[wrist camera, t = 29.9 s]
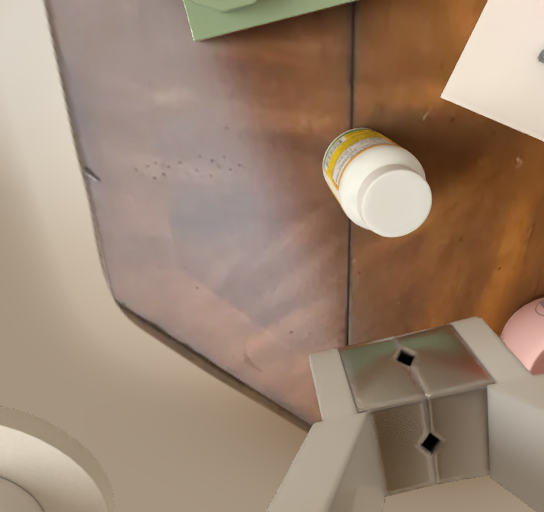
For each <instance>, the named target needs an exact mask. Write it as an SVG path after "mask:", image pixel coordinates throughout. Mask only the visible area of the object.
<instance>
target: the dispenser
mask: <svg viewBox="0 0 544 512" xmlns="http://www.w3.org/2000/svg"><path fill="white" fill-rule="evenodd" d="M359 1H362V0H183V3H184V7H185V10H186V14H187V18H188V21H189V25H190V29H191V32H192V36H193V40H194V41H195V42H201V41H205V40H209V39H213V38H217V37H221V36H225V35H229V34H233V33H237V32H241V31H245V30H248V29H252V28H256V27H260V26H264V25H268V24H272V23H276V22H280V21H284V20H288V19H292V18H296V17H300V16H303V15H307V14H311V13H315V12H319V11H323V10H327V9H331V8H335V7H339V6H343V5H347V4H351V3H355V2H359Z"/></svg>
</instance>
